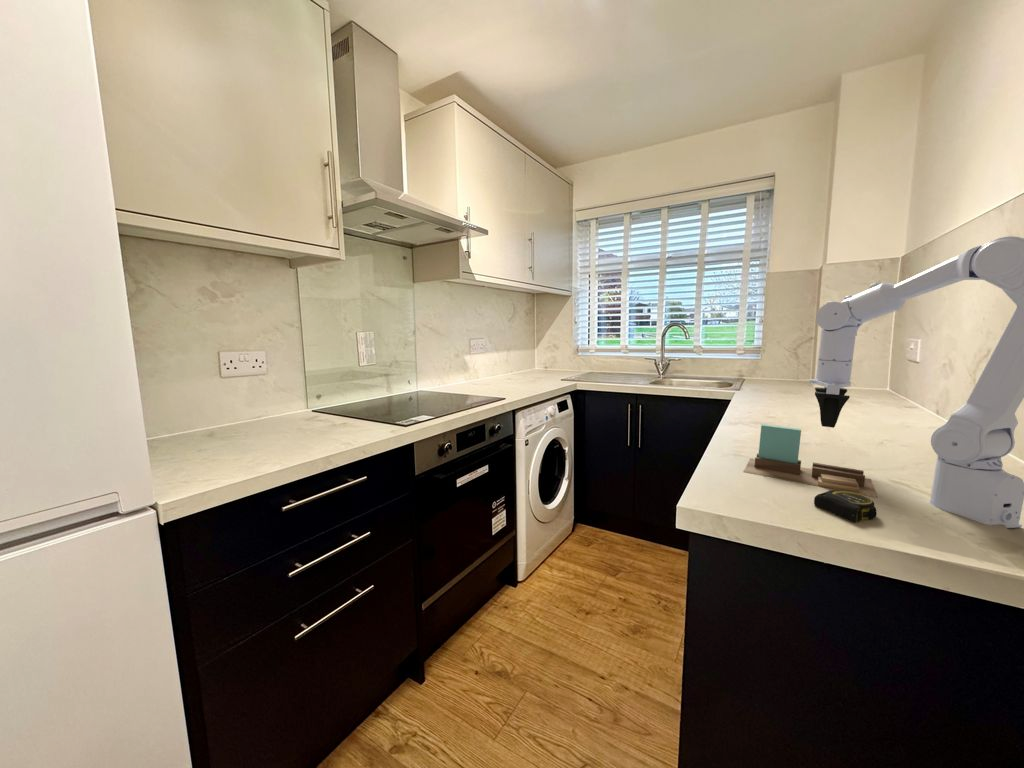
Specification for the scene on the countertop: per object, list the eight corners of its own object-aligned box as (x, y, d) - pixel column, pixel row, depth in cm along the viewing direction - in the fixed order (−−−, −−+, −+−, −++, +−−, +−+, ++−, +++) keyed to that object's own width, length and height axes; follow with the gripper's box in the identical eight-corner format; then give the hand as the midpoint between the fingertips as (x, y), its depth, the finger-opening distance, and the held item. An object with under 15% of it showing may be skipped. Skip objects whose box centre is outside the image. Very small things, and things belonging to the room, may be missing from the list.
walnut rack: (876, 502, 73) (878, 486, 72) (742, 476, 85) (744, 462, 85) (870, 483, 82) (872, 469, 81) (749, 462, 94) (750, 449, 94)
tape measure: (810, 511, 70) (812, 490, 69) (842, 507, 71) (844, 486, 71) (850, 530, 63) (853, 507, 63) (885, 526, 65) (888, 503, 64)
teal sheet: (796, 472, 85) (801, 430, 83) (757, 465, 89) (761, 425, 88) (796, 470, 86) (801, 429, 85) (758, 463, 90) (762, 424, 89)
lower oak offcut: (858, 493, 75) (859, 488, 74) (818, 485, 78) (818, 481, 78) (857, 487, 77) (858, 483, 77) (817, 480, 81) (818, 476, 80)
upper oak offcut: (857, 487, 75) (857, 483, 75) (821, 481, 78) (822, 477, 78) (854, 483, 77) (855, 479, 77) (820, 477, 80) (820, 473, 80)
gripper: (811, 357, 94) (805, 415, 96) (811, 361, 83) (803, 426, 85) (851, 359, 90) (843, 419, 92) (856, 363, 79) (847, 432, 81)
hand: (827, 423), depth 88 cm, fingers open, 7 cm apart
